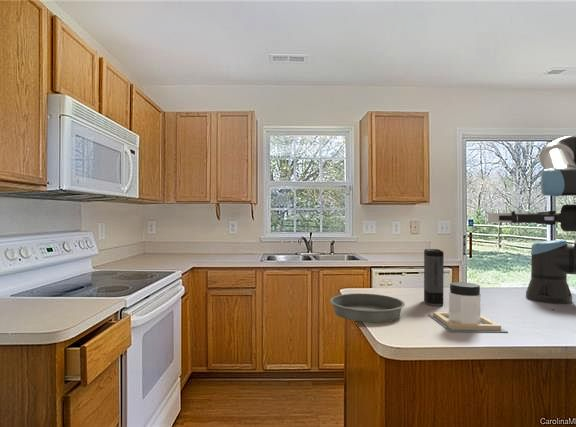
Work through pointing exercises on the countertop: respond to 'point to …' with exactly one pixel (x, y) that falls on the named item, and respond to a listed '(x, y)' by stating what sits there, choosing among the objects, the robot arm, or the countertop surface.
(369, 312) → the cake pan
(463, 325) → the beige flat piece
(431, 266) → the electronic device
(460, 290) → the jar
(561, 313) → the countertop surface
